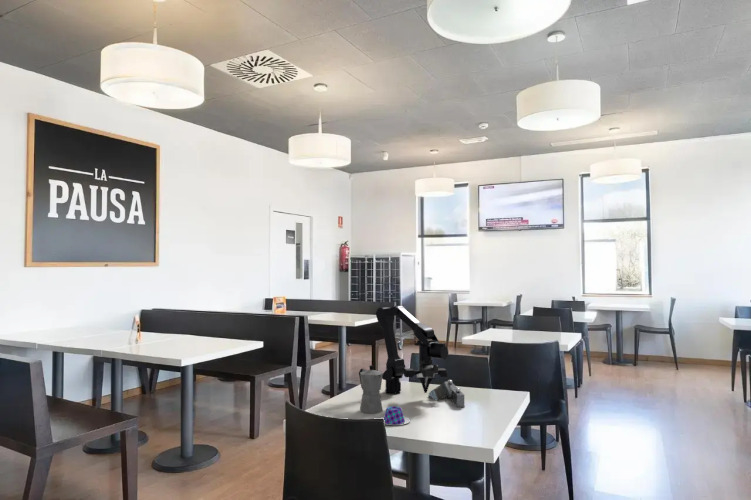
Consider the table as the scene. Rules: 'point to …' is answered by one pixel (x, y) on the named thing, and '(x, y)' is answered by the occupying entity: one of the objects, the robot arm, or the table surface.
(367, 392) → the coffeepot
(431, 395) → the chocolate cake
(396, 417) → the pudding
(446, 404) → the table surface
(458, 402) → the stop rail
